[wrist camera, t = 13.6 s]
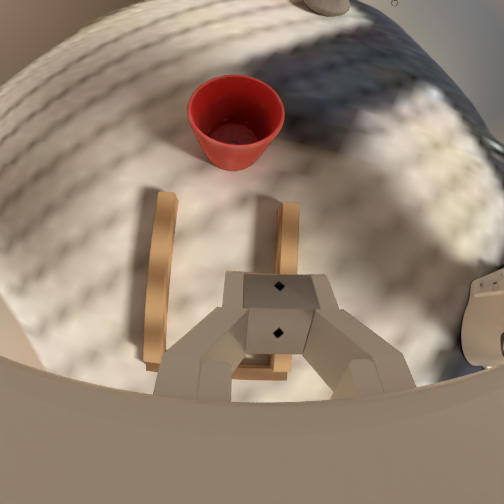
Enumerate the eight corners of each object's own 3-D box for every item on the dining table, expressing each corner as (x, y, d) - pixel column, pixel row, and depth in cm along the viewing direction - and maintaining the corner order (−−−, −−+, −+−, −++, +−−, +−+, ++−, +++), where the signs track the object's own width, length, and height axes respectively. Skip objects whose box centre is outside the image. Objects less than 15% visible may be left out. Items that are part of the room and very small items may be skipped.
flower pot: (239, 198, 38) (245, 166, 28) (177, 152, 38) (167, 112, 28) (285, 145, 40) (303, 106, 30) (227, 105, 40) (229, 62, 30)
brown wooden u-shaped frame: (283, 376, 35) (289, 383, 31) (149, 366, 33) (143, 373, 30) (292, 211, 38) (299, 203, 35) (163, 200, 37) (158, 191, 33)
